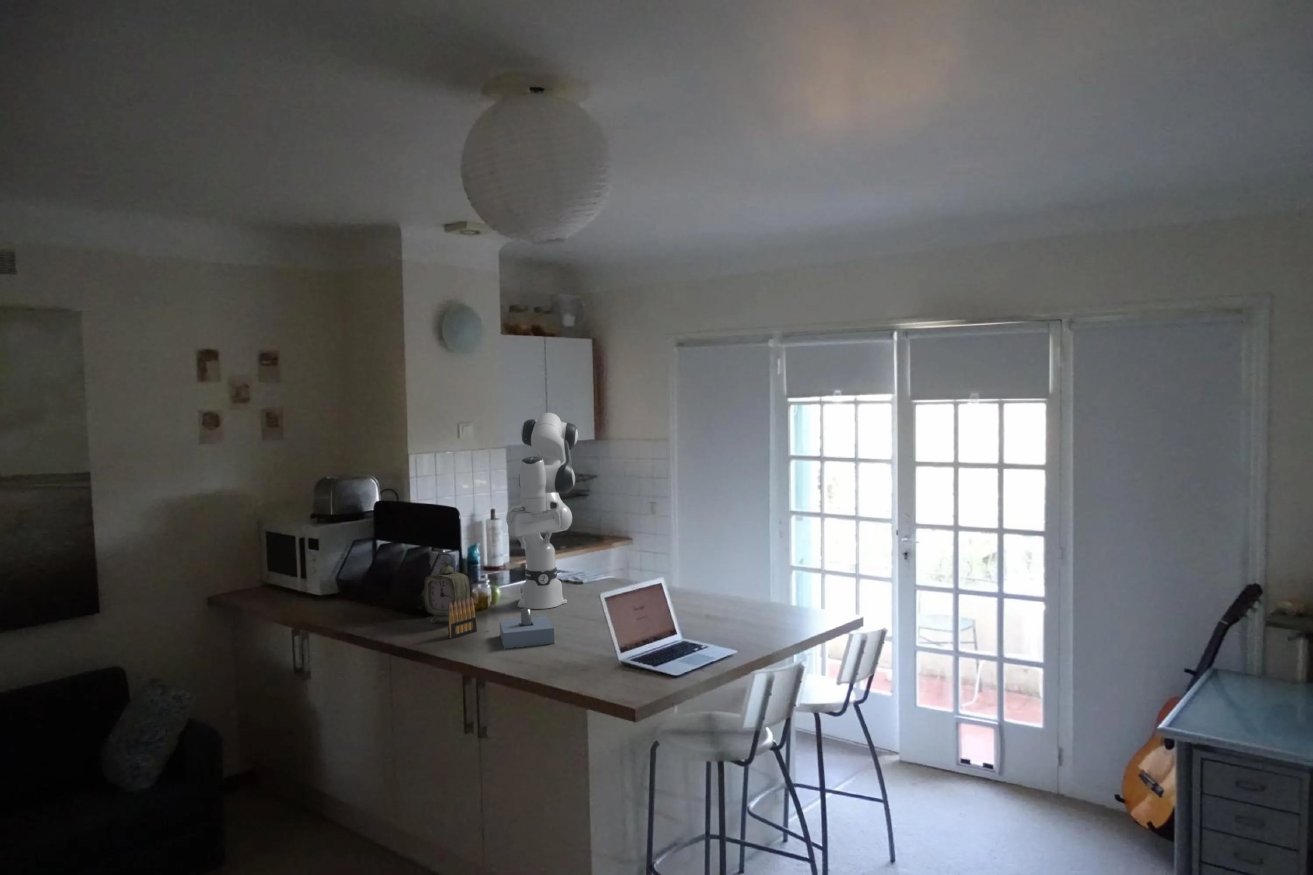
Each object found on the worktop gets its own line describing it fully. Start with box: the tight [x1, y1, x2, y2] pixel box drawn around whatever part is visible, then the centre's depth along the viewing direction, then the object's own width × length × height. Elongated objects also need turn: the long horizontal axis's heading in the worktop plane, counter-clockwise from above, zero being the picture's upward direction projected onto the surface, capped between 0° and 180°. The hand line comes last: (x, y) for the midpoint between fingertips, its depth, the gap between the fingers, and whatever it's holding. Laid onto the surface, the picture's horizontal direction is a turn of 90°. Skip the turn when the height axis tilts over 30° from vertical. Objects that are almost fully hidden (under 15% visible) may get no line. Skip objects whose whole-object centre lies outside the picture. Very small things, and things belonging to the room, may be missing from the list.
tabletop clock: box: [423, 552, 471, 624], centre depth 304 cm, size 14×9×25 cm, turn 62°
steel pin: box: [520, 608, 532, 627], centre depth 279 cm, size 3×3×10 cm
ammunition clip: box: [447, 596, 478, 640], centre depth 287 cm, size 11×2×12 cm, turn 142°
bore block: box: [499, 615, 555, 650], centre depth 279 cm, size 16×16×5 cm
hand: (535, 546), depth 286 cm, fingers open, 8 cm apart
